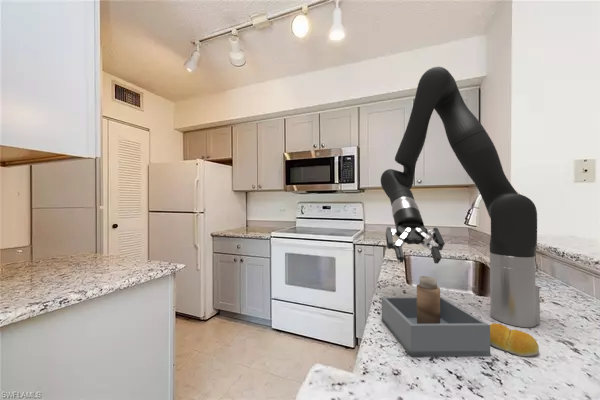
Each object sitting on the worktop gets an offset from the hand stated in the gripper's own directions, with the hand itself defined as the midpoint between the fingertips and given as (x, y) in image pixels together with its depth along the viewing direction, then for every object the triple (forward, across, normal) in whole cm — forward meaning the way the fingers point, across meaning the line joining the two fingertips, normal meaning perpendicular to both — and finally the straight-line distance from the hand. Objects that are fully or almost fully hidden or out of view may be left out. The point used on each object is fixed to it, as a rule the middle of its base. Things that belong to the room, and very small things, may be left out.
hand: (419, 261), depth 64 cm
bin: (+15, 0, +7) cm, 17 cm away
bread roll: (+17, +16, +6) cm, 24 cm away
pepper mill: (+15, 0, +6) cm, 16 cm away
